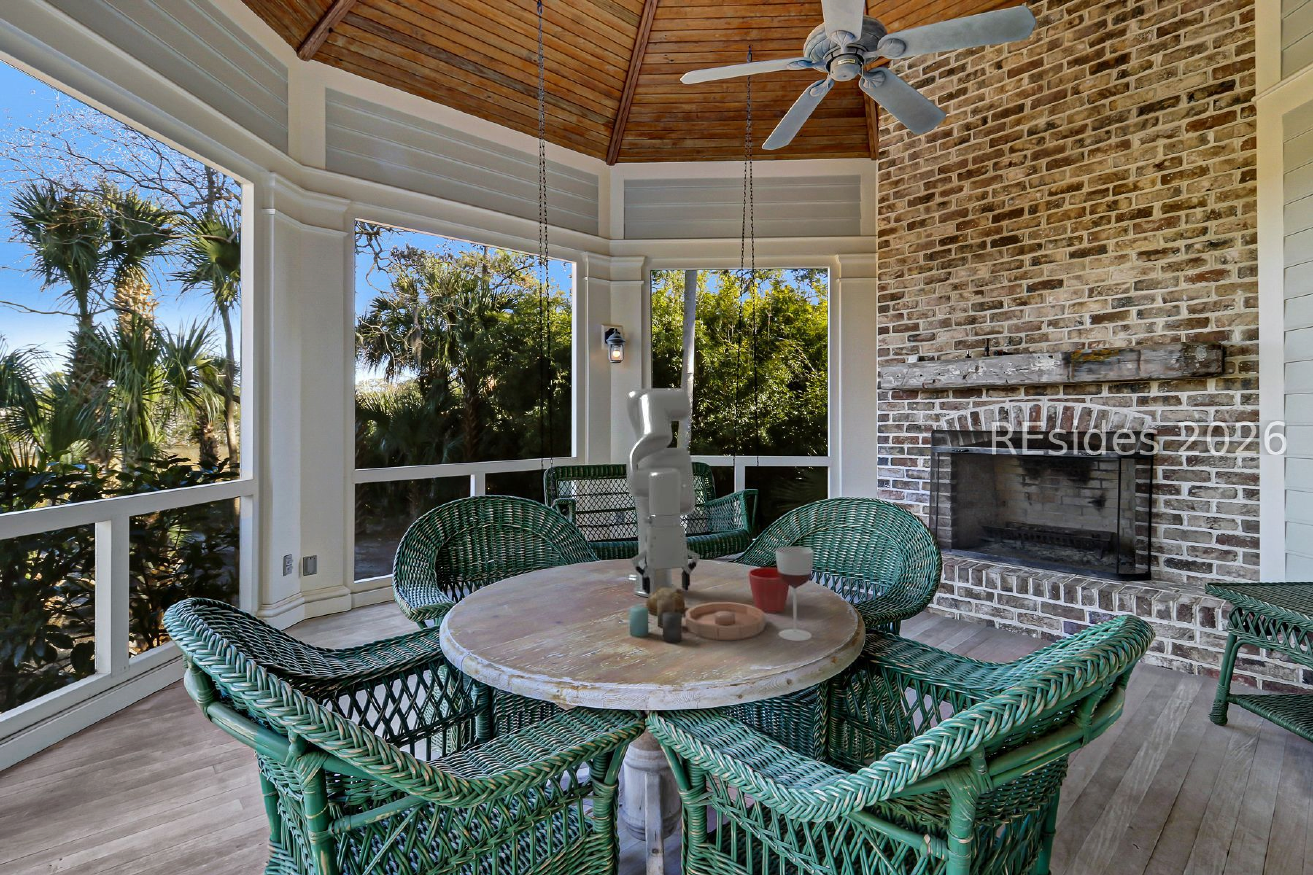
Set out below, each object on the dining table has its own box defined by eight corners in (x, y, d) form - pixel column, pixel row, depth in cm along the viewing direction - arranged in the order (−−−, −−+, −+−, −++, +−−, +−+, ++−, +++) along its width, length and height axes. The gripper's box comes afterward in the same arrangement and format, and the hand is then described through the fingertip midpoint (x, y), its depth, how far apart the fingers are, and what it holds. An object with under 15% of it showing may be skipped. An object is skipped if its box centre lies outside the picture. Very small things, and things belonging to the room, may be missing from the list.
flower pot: (791, 615, 166) (790, 578, 165) (747, 613, 168) (747, 576, 167) (791, 603, 176) (790, 568, 176) (750, 601, 178) (749, 566, 178)
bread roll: (653, 631, 167) (659, 607, 164) (637, 604, 175) (642, 581, 172) (687, 624, 172) (693, 601, 168) (669, 599, 180) (675, 576, 176)
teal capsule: (626, 635, 154) (626, 610, 154) (636, 629, 158) (635, 605, 157) (642, 638, 152) (641, 613, 151) (651, 632, 156) (651, 607, 155)
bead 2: (654, 626, 159) (653, 602, 159) (663, 621, 163) (662, 598, 163) (670, 629, 157) (669, 605, 157) (678, 624, 161) (678, 600, 161)
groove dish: (672, 632, 155) (672, 619, 155) (706, 609, 172) (706, 598, 172) (746, 645, 146) (746, 632, 146) (775, 620, 162) (775, 608, 162)
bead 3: (659, 641, 149) (659, 615, 149) (668, 635, 153) (668, 610, 153) (676, 644, 147) (675, 618, 147) (685, 638, 151) (684, 613, 151)
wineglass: (807, 643, 146) (806, 555, 145) (771, 636, 151) (770, 551, 150) (818, 632, 153) (818, 548, 152) (783, 626, 158) (782, 545, 157)
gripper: (633, 525, 153) (635, 597, 153) (703, 521, 157) (704, 591, 158) (626, 521, 160) (628, 590, 160) (693, 517, 164) (695, 584, 165)
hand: (666, 590), depth 159 cm, fingers open, 9 cm apart
